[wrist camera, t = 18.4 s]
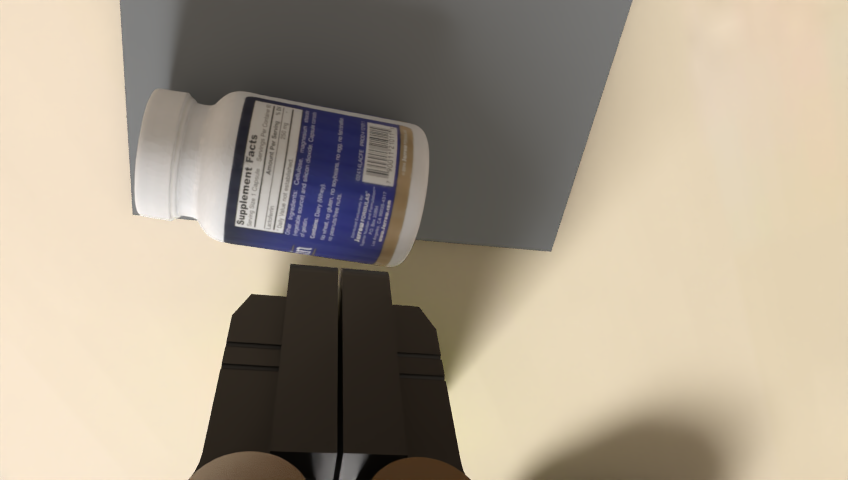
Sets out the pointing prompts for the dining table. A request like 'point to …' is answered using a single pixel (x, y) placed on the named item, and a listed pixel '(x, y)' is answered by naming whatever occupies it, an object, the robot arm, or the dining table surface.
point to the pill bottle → (284, 175)
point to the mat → (407, 87)
